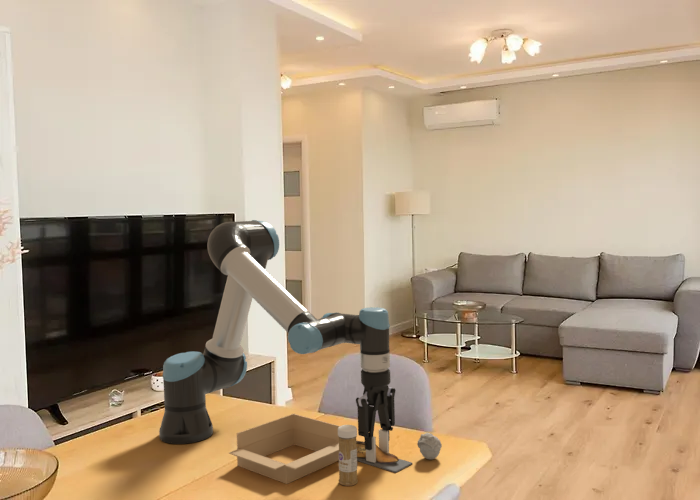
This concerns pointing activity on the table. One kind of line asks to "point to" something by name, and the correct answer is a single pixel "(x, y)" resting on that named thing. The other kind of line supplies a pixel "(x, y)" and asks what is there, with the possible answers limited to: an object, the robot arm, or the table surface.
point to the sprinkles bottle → (347, 455)
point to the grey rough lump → (429, 445)
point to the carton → (281, 436)
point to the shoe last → (380, 455)
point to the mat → (388, 465)
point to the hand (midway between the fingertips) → (377, 457)
